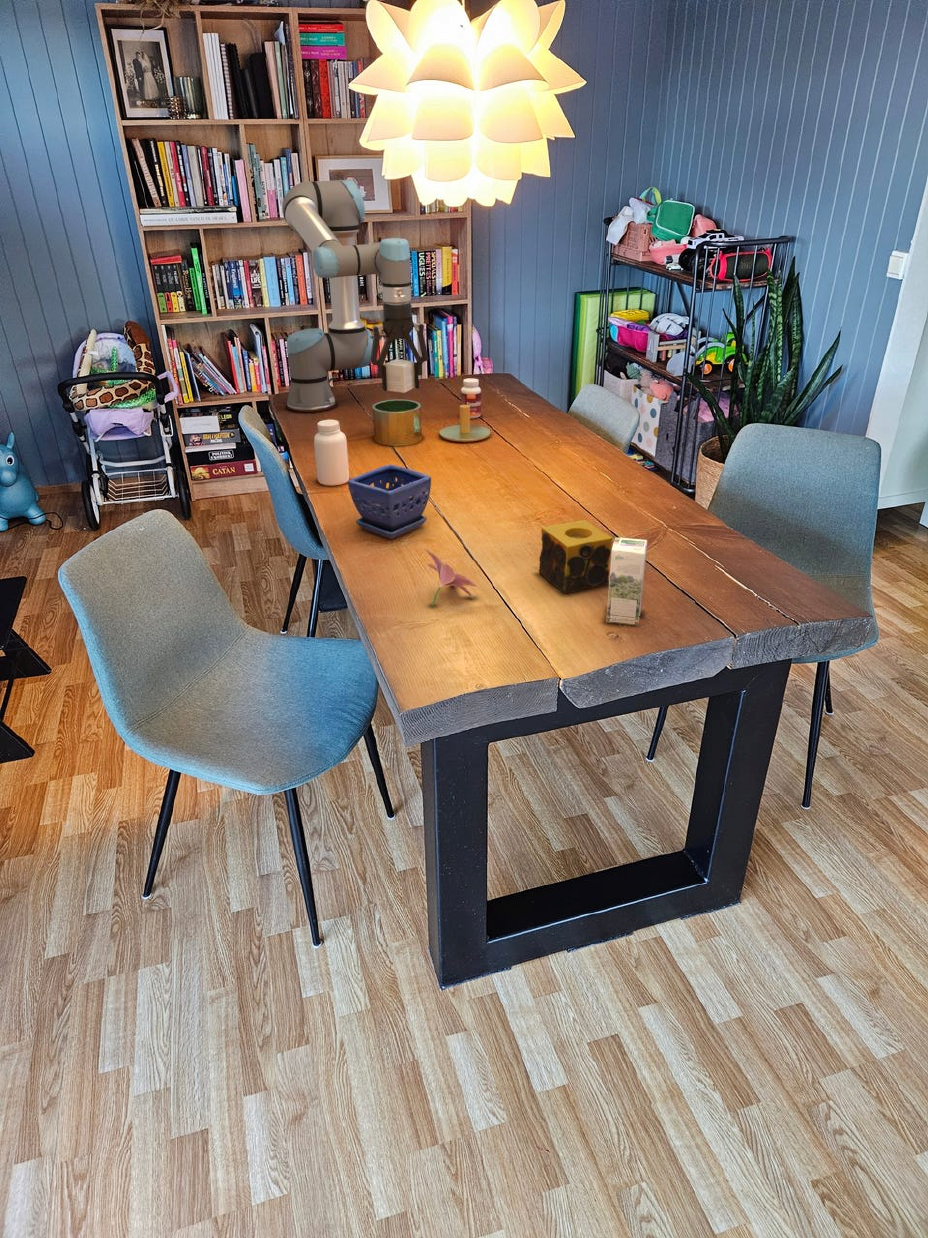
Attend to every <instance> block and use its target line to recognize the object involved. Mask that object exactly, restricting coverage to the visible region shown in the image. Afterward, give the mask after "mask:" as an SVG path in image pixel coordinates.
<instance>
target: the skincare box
mask: <svg viewBox="0 0 928 1238" xmlns="http://www.w3.org/2000/svg"><path fill="white" fill-rule="evenodd" d="M414 362H415V361H414V360H405V359H396V358H395V359H392V360H390V361H389V362H386V363H384V365H385V366H386V380H387V391H386V392H395V393H403V394H405V393H407V392H410V391H411V390H413V389H416V387H415V370H414Z"/></svg>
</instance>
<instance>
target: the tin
mask: <svg viewBox="0 0 928 1238" xmlns="http://www.w3.org/2000/svg"><path fill="white" fill-rule="evenodd" d="M371 409H372V424H373V425H372V426H373V439H374V442H375V443H376V444H378V445H382V446H388V447H404V446H405V447H406V446H412V445H414V444H417V443H419V442H421V441H422V440H423V423H422V405H421V403H420V402H418V401H415V400H411V399H387V400H386V399H385V400H381V401H378V402H375V403H374V404H372V407H371Z"/></svg>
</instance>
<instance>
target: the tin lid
mask: <svg viewBox="0 0 928 1238" xmlns="http://www.w3.org/2000/svg"><path fill="white" fill-rule="evenodd" d="M458 407H459V408H458V409H459V412H458V413H459V424H455V425H449V426H446V427H444V428H442V429H440V430H439V437H440V438H442V439H444V440H447V441H452V442H464V443H467V442H468V443H469V442H477V441H482V440H484V439H487V438H489V437H490V436H491V429H489V427H485V426H482V425H476V424H471V418H470V406H469V405H461V404H460V405H459V406H458Z"/></svg>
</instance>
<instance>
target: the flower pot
mask: <svg viewBox="0 0 928 1238" xmlns="http://www.w3.org/2000/svg"><path fill="white" fill-rule="evenodd" d="M372 484H373V485H372ZM387 484H388V488H387ZM347 486H348V490H349V493H350V497H351V500H352V503H353V505H354V507H355V509H356V511H357V512H358V514H359V515H360V516H361V517H360V518H358V519H355V523H356V524H357V525H358V527H360V528H361V529H363V530H366V531H368V532H370V533H372V534H375V535H378V536H381V537H384V538H387V539H389V540H394V539H396V538H398V537H400V536H403V535H405V534H407V533H409V532H411V531H414V530H415V529H418V528H419V527H422V525H424V524H425V523H426V521H427V519H428V517H427V516H425V515H423V514H424V512H425V509H426V507H427V506H428V502H429V499H430V495H431V488H432V477H431V476H430V475H428V474H425V473H422V472H419V471H417V470H413V469H408V468H405V467H402V466H399V465H394V464H386V465H383V466H380V467H378V468H375V469H372V470H369V471H366V472H365V473H362V474H360V475H357V476H354V477H353V478H349V480H348V482H347Z"/></svg>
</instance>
